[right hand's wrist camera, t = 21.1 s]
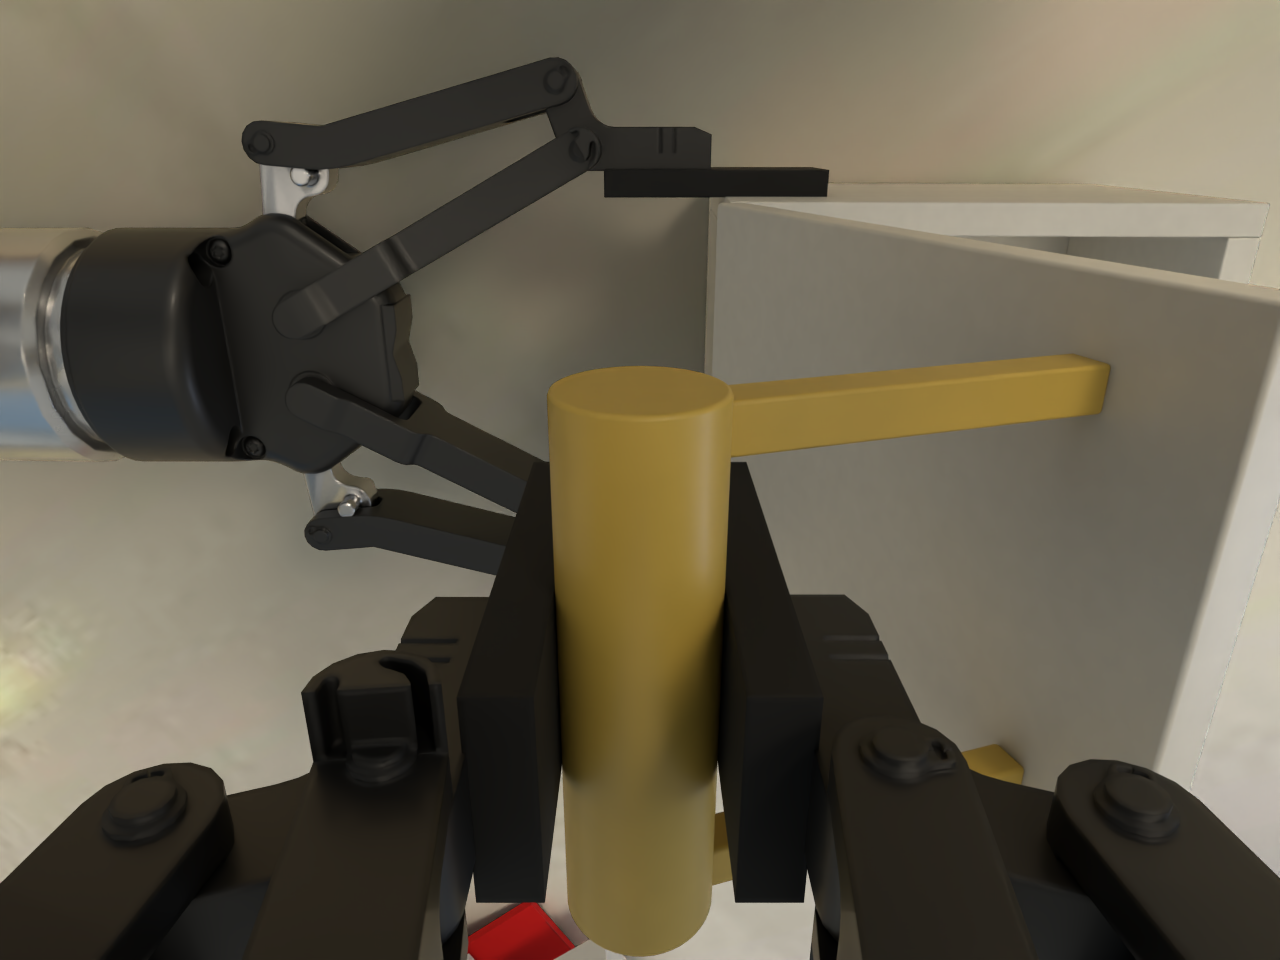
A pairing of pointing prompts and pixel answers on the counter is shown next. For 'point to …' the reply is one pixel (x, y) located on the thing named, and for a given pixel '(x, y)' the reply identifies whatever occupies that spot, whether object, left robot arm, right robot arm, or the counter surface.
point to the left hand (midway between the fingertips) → (806, 347)
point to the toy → (530, 939)
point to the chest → (1044, 223)
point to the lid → (906, 521)
